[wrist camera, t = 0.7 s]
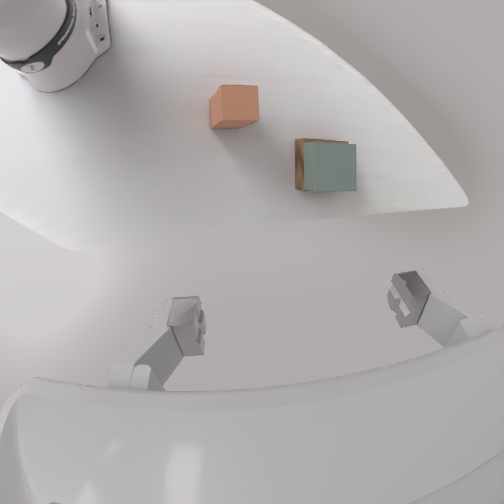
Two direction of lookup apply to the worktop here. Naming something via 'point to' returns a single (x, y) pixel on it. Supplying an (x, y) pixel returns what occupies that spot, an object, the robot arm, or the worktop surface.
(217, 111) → the pillar
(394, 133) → the worktop surface
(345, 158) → the tower top
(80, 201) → the worktop surface
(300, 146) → the tower base
